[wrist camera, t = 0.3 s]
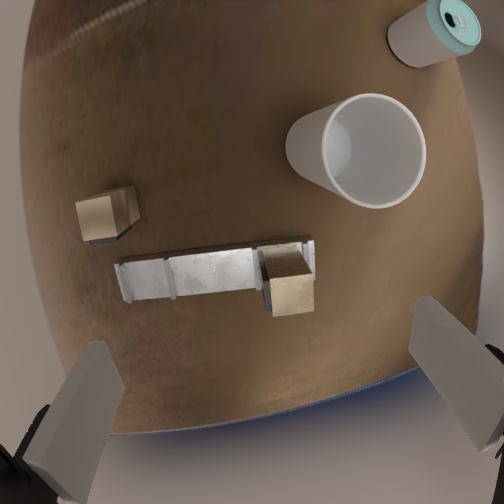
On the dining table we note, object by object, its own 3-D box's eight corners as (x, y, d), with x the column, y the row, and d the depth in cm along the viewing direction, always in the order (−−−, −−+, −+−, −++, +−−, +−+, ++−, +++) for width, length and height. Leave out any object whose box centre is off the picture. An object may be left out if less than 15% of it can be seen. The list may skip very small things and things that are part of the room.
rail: (119, 258, 38) (87, 292, 28) (309, 235, 38) (333, 265, 29) (128, 294, 40) (102, 335, 30) (311, 273, 40) (333, 312, 30)
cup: (316, 196, 37) (370, 232, 21) (270, 143, 34) (296, 141, 19) (365, 152, 35) (443, 162, 20) (322, 99, 33) (381, 71, 18)
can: (415, 78, 32) (473, 64, 21) (376, 41, 30) (424, 11, 19) (437, 48, 30) (492, 30, 19) (400, 12, 29) (449, -19, 17)
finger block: (105, 190, 35) (75, 202, 27) (134, 184, 35) (109, 195, 28) (112, 226, 37) (85, 246, 29) (141, 222, 37) (118, 241, 29)
